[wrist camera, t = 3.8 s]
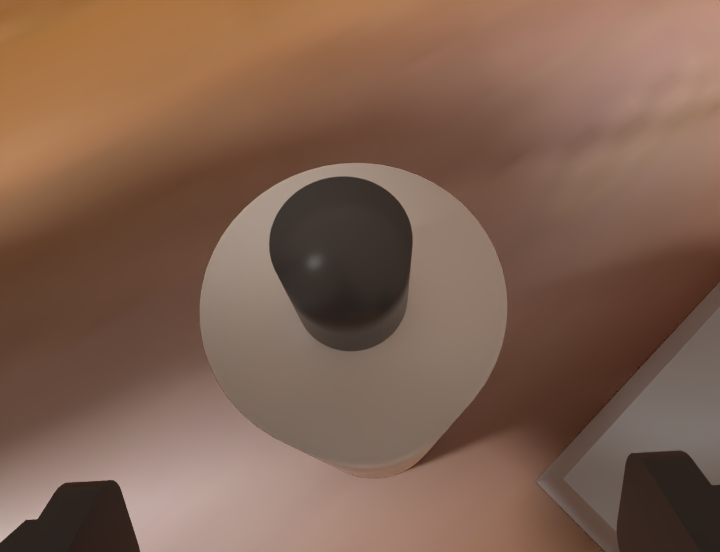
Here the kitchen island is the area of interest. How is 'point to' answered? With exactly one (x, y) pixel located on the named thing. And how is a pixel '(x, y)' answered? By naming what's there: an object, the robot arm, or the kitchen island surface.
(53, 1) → the kitchen island surface
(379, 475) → the plug
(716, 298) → the socket
